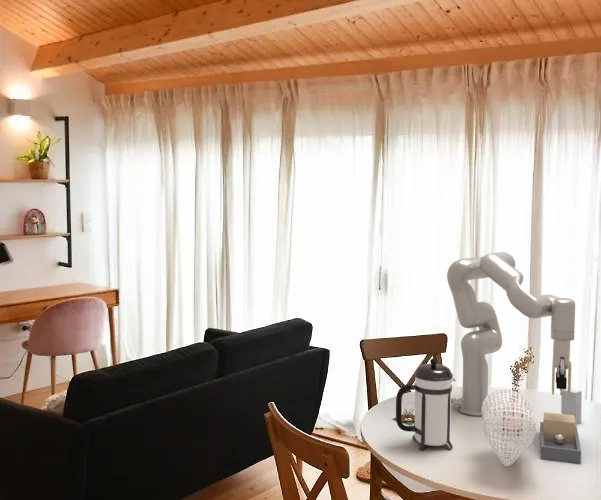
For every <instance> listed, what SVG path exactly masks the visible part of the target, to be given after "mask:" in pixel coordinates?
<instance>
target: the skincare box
mask: <svg viewBox="0 0 601 500" xmlns="http://www.w3.org/2000/svg"><path fill="white" fill-rule="evenodd" d="M560 396H561V402H560V403H561V408H560V410H561V413H560V414H566V415H574V418H575V425H579V424H580V423H582V390H580V389H574V388H571V394H570V396H568V387H566V389H562V395H560Z"/></svg>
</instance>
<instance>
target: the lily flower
mask: <svg viewBox="0 0 601 500" xmlns="http://www.w3.org/2000/svg"><path fill="white" fill-rule="evenodd" d="M406 414H407V415H406ZM405 418H407V419H408V418H411V419H412V422H411V421H410V420H411V419H408V420H407V419H406V420H405ZM392 420H396V416H395V417H394V418H392ZM401 420H402V423H403V422H404V423H405V424H408V425H409V426H412V424H414V423H415V414H414V409H413V407H412V408H411V409H410V410H409V411H408V410H407V408H404V409H403V412H401ZM406 421H407V422H406ZM409 422H410V423H409Z"/></svg>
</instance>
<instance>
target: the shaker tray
mask: <svg viewBox="0 0 601 500" xmlns="http://www.w3.org/2000/svg"><path fill="white" fill-rule="evenodd" d="M542 419H543V420H542V421H541V422H540V423H539V424H540V425H539V426H540V427H539V439H540V440H539V442H540V443H539V445H540V446H539V447H540V448H539V450H540V451H539V452H540V459H542V460H548V461H549V460H550V461H557V462H564V463H572V464H579V465H580V464H581V463H582V462H581V461H582V459H581V458H582V449H581V444H580V442H581V441H580V438H579V432H578V428H577V427H578V426H577V425H576V424H575V418H574V415H566V414H561V413H556V412H545V411H543V418H542ZM556 434H562V435H563V436H564V438H565V441H564V442H563V443H562V444H558V443H556V442H555V440H554V436H555V435H556Z"/></svg>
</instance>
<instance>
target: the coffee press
mask: <svg viewBox="0 0 601 500" xmlns="http://www.w3.org/2000/svg"><path fill="white" fill-rule="evenodd" d="M429 362H430V363H424V364H420V365H419V366H418V367H416V370H414V372H413V376H414V378H415V379H414V384H405V385H403V386H402V387H400V388H399V389H398V391H397V392H396V399H395V417H396V419H395V422H396V424H397V427H398V428H399V429H400V430H402V431H404V432H411V433H412V432H413V433H414V434H413V435H412V437H411V438H412V440H413V441H417V442H418V443H419V446H418V449H419V451H422V452H424V451H425V449H426V447H427V446H431V447H440V446H444V447H445V448H446V449H447V450H448V451H450V450H451V451H452V450H453V444H452V443H451V426H452V425H451V419H452V417H451V415H452V413H451V412H452V403H451V398H452V392H453V383H452V382H457V379H456V378H455V377H454V375H453V373H452V371H451V369H450V368H449V367H447V365H443V364H438V361H437V359H436V358H434V357H433V358H431V359H430V361H429ZM409 391H414V415H415V421H414V423H413V425H405V424H404V423H403V422H402V420H401V414H402V403H403V400H402V399H403V396H404V394H405V393H406V392H409Z"/></svg>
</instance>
